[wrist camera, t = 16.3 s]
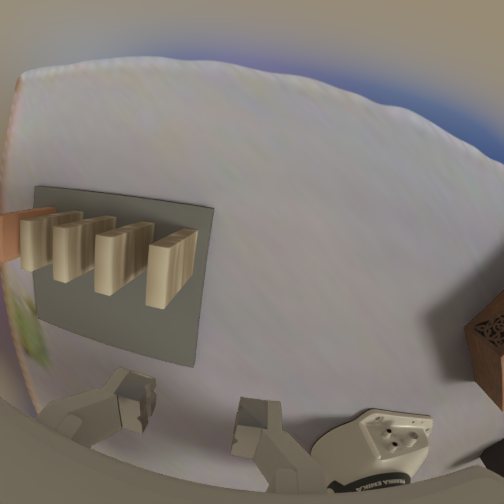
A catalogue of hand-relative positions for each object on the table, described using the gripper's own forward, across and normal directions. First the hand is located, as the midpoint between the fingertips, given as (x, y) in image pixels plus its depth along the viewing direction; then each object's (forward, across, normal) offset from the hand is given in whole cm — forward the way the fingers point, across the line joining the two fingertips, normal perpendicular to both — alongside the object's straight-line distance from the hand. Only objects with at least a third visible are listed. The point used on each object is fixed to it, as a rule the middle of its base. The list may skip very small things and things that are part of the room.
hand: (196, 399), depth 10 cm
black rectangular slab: (+24, -74, +40) cm, 87 cm away
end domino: (+22, +26, 0) cm, 34 cm away
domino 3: (+22, +11, 0) cm, 25 cm away
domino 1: (+22, +21, 0) cm, 30 cm away
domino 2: (+22, +16, 0) cm, 27 cm away
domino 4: (+22, +6, 0) cm, 23 cm away
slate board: (+23, +17, +5) cm, 29 cm away
